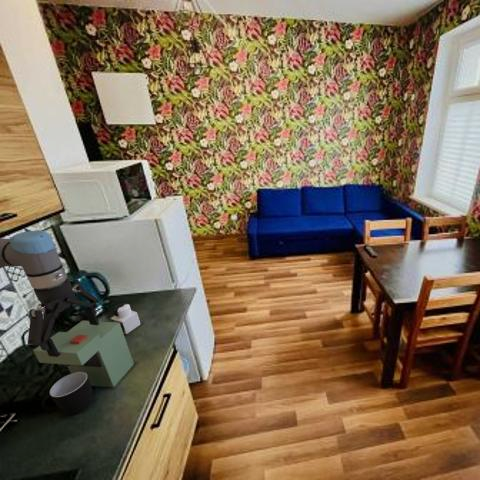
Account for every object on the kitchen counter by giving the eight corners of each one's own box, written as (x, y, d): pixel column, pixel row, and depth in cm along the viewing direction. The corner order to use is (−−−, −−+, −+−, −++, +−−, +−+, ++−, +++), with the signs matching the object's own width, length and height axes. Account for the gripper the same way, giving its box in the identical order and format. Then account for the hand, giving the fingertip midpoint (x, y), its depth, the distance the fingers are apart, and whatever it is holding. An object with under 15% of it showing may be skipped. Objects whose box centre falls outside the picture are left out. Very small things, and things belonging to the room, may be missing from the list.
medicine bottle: (114, 331, 119) (106, 309, 114) (129, 321, 125) (122, 299, 120) (126, 334, 117) (118, 312, 112) (141, 324, 123) (134, 302, 118)
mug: (99, 388, 93) (89, 367, 89) (95, 410, 85) (84, 388, 82) (53, 405, 87) (40, 383, 83) (44, 430, 80) (31, 407, 76)
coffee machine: (59, 400, 88) (31, 348, 80) (99, 361, 103) (79, 314, 94) (99, 403, 88) (75, 351, 79) (134, 364, 102) (117, 316, 93)
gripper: (12, 312, 65) (45, 373, 74) (100, 263, 88) (117, 314, 97) (-15, 309, 66) (21, 370, 75) (79, 261, 89) (99, 312, 97)
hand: (76, 338), depth 86 cm, fingers open, 13 cm apart
